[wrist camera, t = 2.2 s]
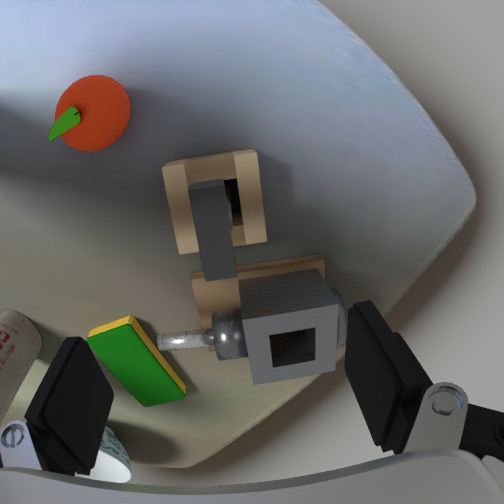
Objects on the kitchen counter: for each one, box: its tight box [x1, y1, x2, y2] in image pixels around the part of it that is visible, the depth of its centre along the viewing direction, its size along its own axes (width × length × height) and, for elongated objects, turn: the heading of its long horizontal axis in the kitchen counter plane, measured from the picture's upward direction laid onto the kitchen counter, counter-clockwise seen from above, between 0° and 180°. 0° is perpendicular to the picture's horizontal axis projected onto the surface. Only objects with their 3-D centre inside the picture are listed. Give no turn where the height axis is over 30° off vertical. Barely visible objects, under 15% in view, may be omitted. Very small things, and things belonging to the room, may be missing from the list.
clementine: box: [48, 75, 131, 151], centre depth 23 cm, size 8×7×7 cm
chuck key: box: [188, 178, 238, 282], centre depth 25 cm, size 6×3×11 cm, turn 7°
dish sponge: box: [87, 315, 186, 407], centre depth 38 cm, size 7×14×2 cm, turn 22°
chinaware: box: [75, 426, 132, 483], centre depth 42 cm, size 15×15×8 cm
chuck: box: [157, 268, 347, 385], centre depth 31 cm, size 19×8×7 cm, turn 97°
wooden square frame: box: [162, 148, 267, 255], centre depth 29 cm, size 8×8×4 cm
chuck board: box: [191, 254, 325, 352], centre depth 35 cm, size 10×14×2 cm
